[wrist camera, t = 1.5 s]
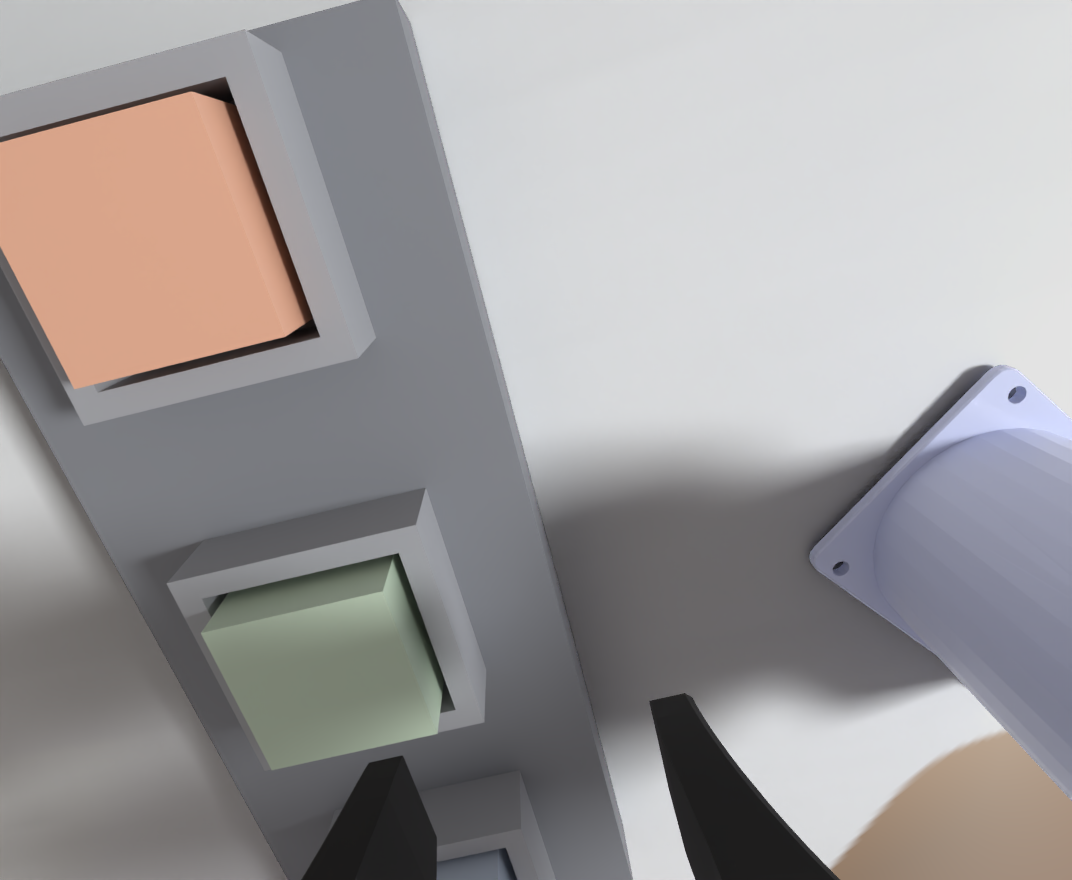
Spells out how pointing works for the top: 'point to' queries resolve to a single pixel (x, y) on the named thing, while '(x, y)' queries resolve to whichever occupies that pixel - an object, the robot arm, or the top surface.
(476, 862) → the slate button
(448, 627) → the button panel
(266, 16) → the top surface
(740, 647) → the top surface
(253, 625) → the sage button
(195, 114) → the terracotta button
